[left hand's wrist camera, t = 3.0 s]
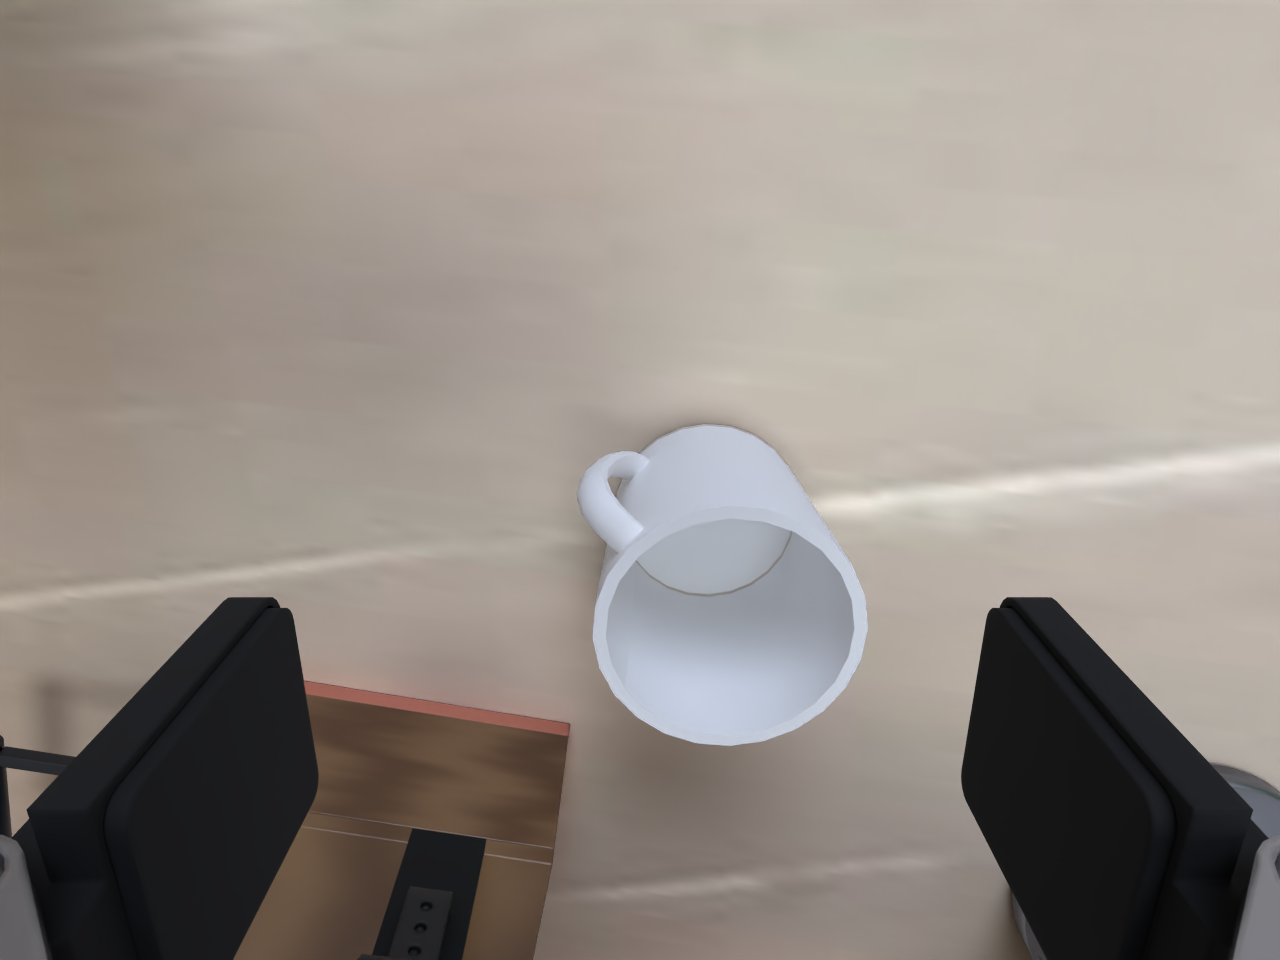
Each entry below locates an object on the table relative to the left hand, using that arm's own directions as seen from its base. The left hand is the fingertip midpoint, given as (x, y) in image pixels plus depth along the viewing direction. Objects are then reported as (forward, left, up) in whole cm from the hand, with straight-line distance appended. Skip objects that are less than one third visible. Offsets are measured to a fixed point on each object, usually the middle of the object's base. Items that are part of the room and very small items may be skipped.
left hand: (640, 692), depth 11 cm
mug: (+3, -7, -25) cm, 26 cm away
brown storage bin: (-10, -23, -25) cm, 36 cm away
